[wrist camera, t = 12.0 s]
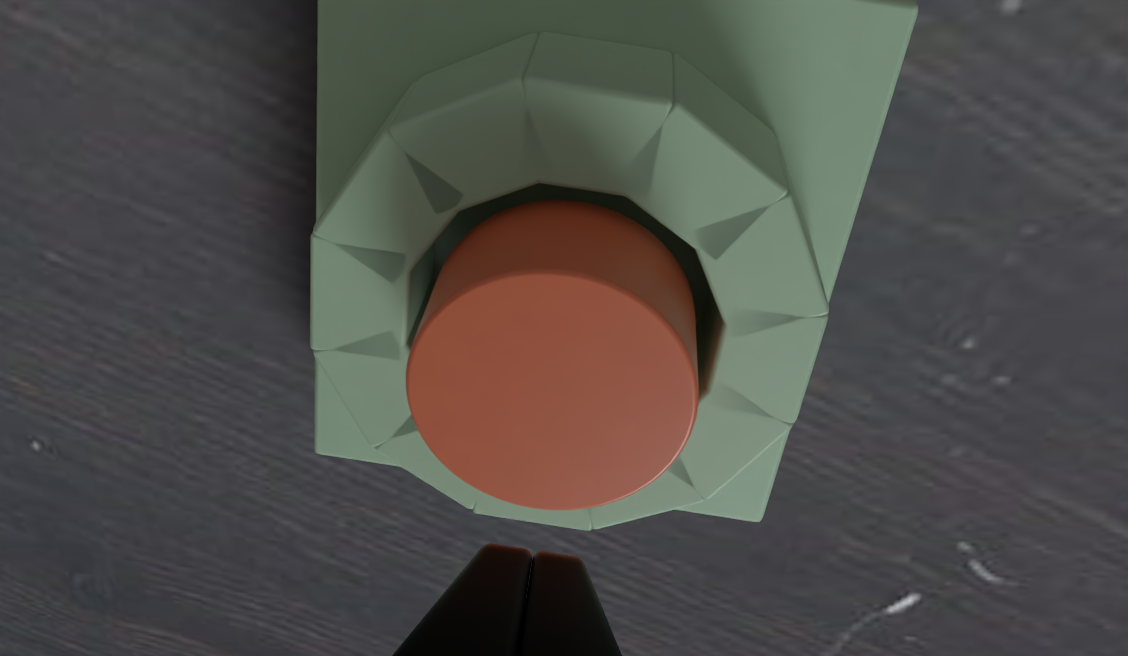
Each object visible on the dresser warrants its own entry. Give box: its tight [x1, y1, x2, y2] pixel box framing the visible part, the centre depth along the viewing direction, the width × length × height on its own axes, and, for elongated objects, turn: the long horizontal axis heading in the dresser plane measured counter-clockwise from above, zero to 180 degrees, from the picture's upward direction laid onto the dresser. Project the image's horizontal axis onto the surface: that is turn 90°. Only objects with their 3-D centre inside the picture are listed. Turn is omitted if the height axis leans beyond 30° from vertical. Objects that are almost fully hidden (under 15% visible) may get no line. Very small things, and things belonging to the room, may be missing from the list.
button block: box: [310, 0, 918, 531], centre depth 14 cm, size 7×8×4 cm
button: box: [406, 200, 699, 510], centre depth 12 cm, size 3×3×2 cm
